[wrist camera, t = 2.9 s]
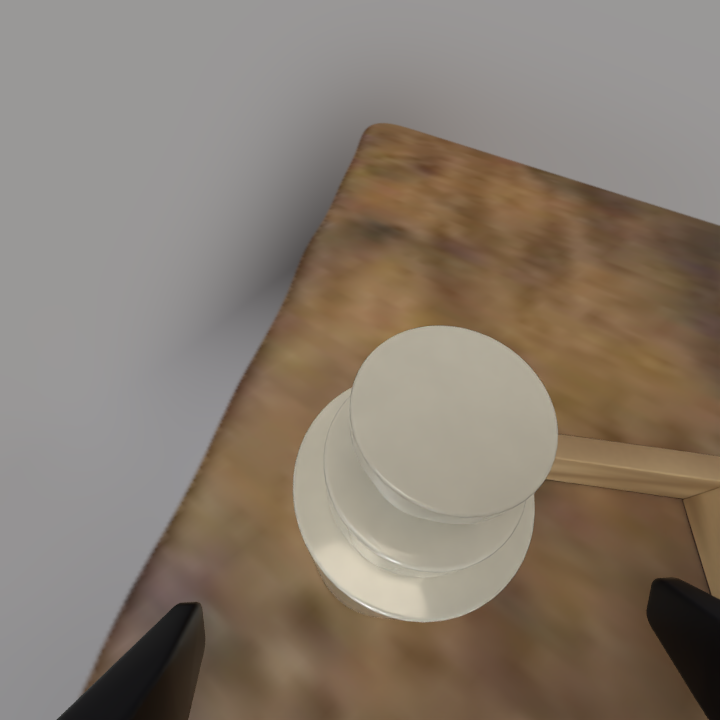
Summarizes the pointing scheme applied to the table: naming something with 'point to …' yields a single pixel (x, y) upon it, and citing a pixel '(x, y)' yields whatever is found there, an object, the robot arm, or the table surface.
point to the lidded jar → (426, 475)
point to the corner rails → (652, 483)
